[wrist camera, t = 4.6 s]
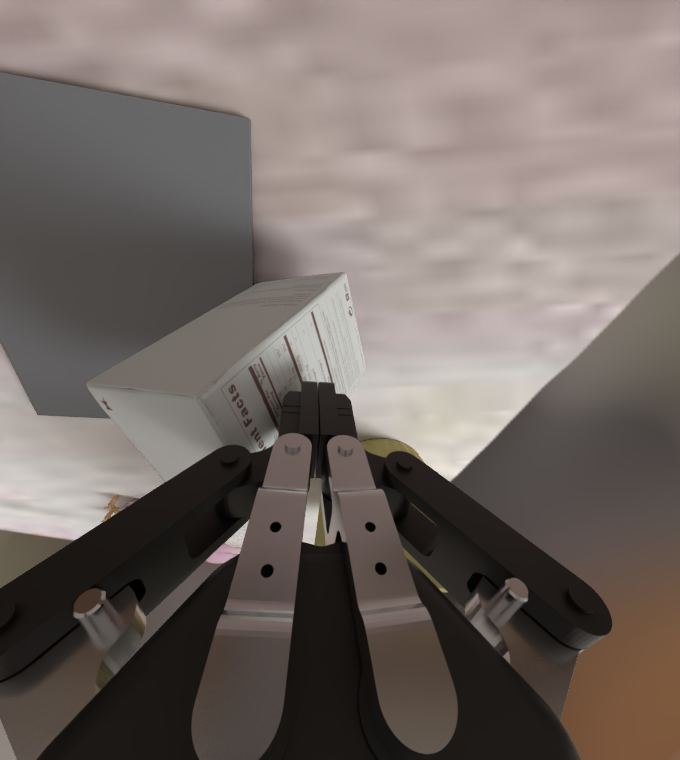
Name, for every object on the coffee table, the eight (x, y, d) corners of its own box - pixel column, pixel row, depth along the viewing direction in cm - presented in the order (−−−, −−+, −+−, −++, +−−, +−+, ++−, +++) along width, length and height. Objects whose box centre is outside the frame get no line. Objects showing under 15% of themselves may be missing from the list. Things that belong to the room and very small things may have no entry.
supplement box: (288, 366, 25) (167, 490, 16) (257, 279, 21) (74, 380, 12) (369, 370, 22) (273, 530, 13) (350, 268, 18) (191, 397, 9)
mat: (-134, 49, 14) (-150, 44, 14) (250, 120, 17) (248, 118, 16) (42, 410, 26) (37, 414, 25) (256, 421, 28) (255, 425, 28)
